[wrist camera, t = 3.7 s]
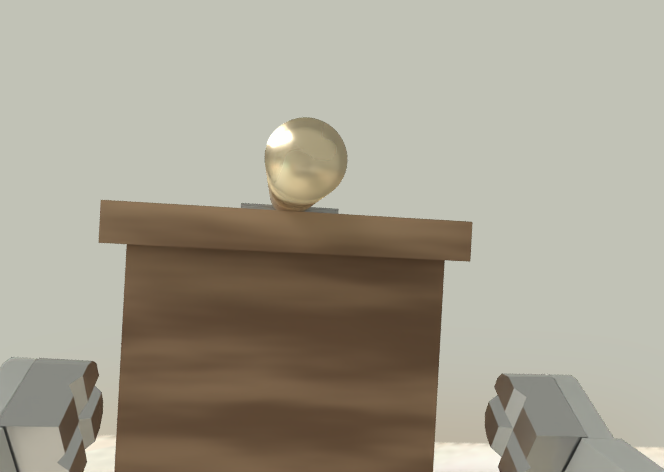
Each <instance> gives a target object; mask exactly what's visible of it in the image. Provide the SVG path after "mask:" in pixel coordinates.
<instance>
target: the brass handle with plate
mask: <svg viewBox="0 0 664 472" xmlns="http://www.w3.org/2000/svg"><path fill="white" fill-rule="evenodd" d="M265 166H266V173H267V180H268V187H269V194H270V200H271V203H272V205H265V204H249V203H248V204H247V203H241V208H247V209H263V210H280V211H297V212H314V213H331V214H338V209H332V208H315V207H311V206H312V205H313V204H315V203H316V202H318V201H319V200H321V199H322V198H324V197H325V196H326V195H328V194H329V193H330V192H332V191H333V190H334V189H335V188H336V187H337V186H338V185H339V184H340V182H341V180H342V179H343V177H344V174H345V171H346V168H347V151H346V147H345V145H344V142H343V140H342V138H341V137H340V135H339V134H338V133H337V131H336V130H335V129H334V128H333V127H331V126H330V125H329V124H327V123H325V122H323V121H321V120H318V119H315V118H307V117H303V118H296V119H292V120H290V121H288V122H286V123H284V124H282V125H281V126H280V127H278V128H277V129H276V131H275V132H274V133H273V134H272V136H271V137H270V139H269V141H268V144H267V147H266V150H265Z"/></svg>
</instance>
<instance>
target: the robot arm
mask: <svg viewBox="0 0 664 472" xmlns="http://www.w3.org/2000/svg"><path fill="white" fill-rule="evenodd" d="M98 376H99V374H98V369H97V364H96V363H95V362H93V361H83V360H65V359H47V358H39V359H37V358H19V357H11V358H10V359H8V360H7V361H5V362H4V363H3V364H2V366H1V367H0V472H83V471H84V468H85V466H86V463H87V459H86V454H85V449H86V448H87V447H88V446H90V445H91V444H92V443H93V442H95V440H96V437H97V434H98V431H99V429H100V424H101V419H102V414H103V398H102V392H101V391H100V390H99V389H98V388H97V387H95V383H96V381H97V379H98ZM495 390H496V392H497V394H498V395H497V396H496V397H495V398H493V399H492V400H491V401H489V403H488V406H487V409H486V412H485V429H486V435H487V438H488V441H489V444H490V447H491V448H492V449H493V450H494V451H495V452H496V453H498V454H499V455H500V456H501V460H500V463H499V465H498V468H499V470H500V472H664V469H663V468H662V467H660V466H659V465H657V464H656V463H655V462H653V461H652V460H650V459H649V458H648V457H646V456H645V455H643V454H642V453H641V452H639V451H638V450H636V449H635V448H634V447H632V446H631V445H630V444H628V443H627V442H625V441H624V440H622V439H615V438H614V437H613V435H612V434H611V432H610V431H609V429H608V428H607V426H606V424H605V423H604V421H603V420H602V418H601V416H600V415H599V413H598V412H597V410H596V409H595V407H594V405H593V404H592V402H591V401H590V399H589V397H588V396H587V394H586V393H585V391H584V390H583V388H582V387H581V385H580V383H579V382H578V380H577V379H576V378H575V377H573V376H572V375H544V374H541V375H540V374H501V375H500V376H499V377H498V378H497V381H496V384H495Z"/></svg>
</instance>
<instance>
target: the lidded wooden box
mask: <svg viewBox="0 0 664 472" xmlns="http://www.w3.org/2000/svg"><path fill="white" fill-rule="evenodd" d="M471 237H472V222H466V221H449V220H432V219H415V218H397V217H382V216H365V215H348V214H331V213H314V212H297V211H280V210H263V209H247V208H229V207H212V206H196V205H178V204H161V203H144V202H127V201H111V200H101V208H100V227H99V243H115V244H127V251H126V268H125V288H124V306H123V324H122V343H121V361H120V380H119V398H118V418H117V436H116V454H115V472H433V460H434V442H435V423H436V406H437V388H438V367H439V352H440V333H441V314H442V297H443V278H444V261H445V260H451V261H470V256H471Z"/></svg>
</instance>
